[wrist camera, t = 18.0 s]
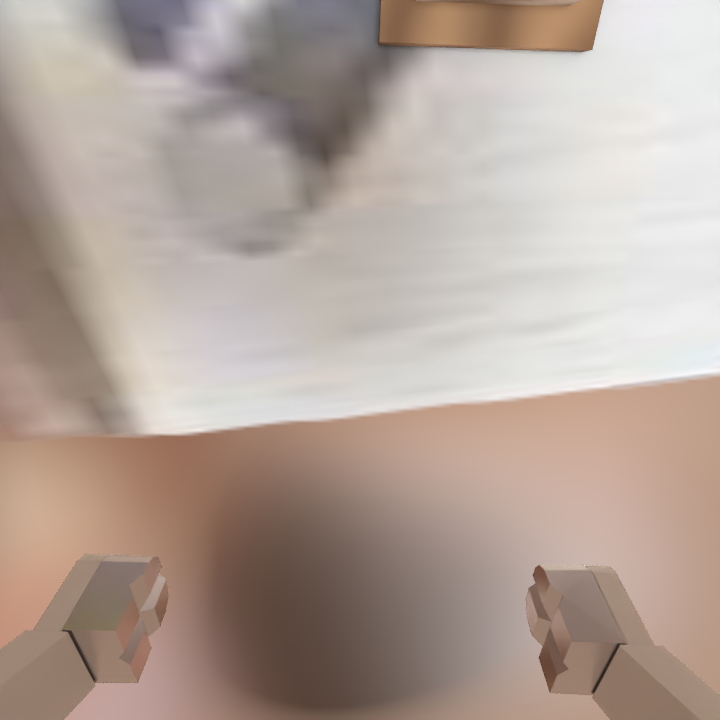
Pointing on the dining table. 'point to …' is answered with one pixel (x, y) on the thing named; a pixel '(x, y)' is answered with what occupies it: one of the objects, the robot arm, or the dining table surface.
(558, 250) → the dining table surface
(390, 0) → the collar plate
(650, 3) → the dining table surface
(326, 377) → the dining table surface
